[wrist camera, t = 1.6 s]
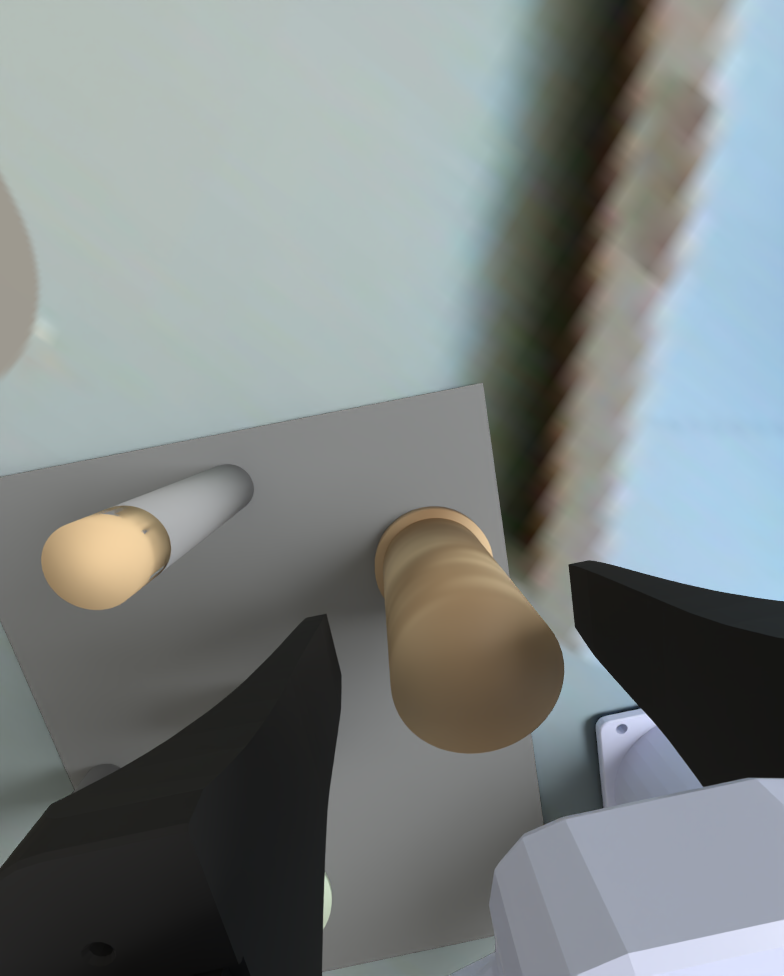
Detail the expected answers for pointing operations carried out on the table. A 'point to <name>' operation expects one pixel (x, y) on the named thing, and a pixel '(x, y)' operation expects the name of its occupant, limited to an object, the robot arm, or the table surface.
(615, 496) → the table surface
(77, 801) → the robot arm
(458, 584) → the cylinder
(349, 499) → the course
